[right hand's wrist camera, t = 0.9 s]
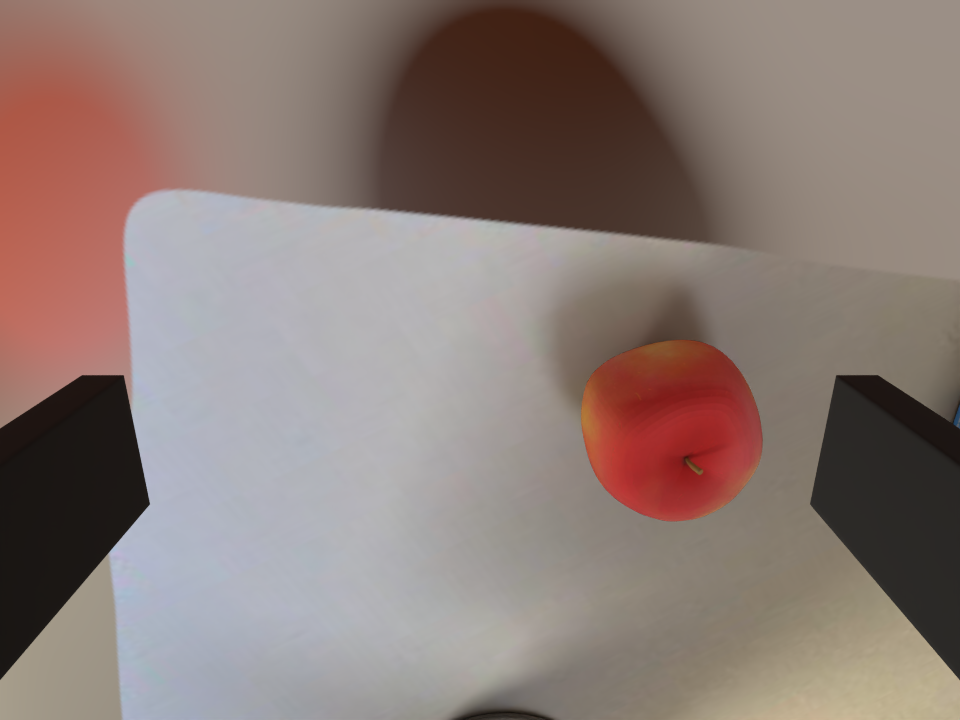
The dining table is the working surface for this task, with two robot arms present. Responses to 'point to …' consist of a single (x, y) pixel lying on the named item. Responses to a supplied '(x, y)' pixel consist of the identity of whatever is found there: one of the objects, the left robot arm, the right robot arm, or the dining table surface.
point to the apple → (671, 429)
